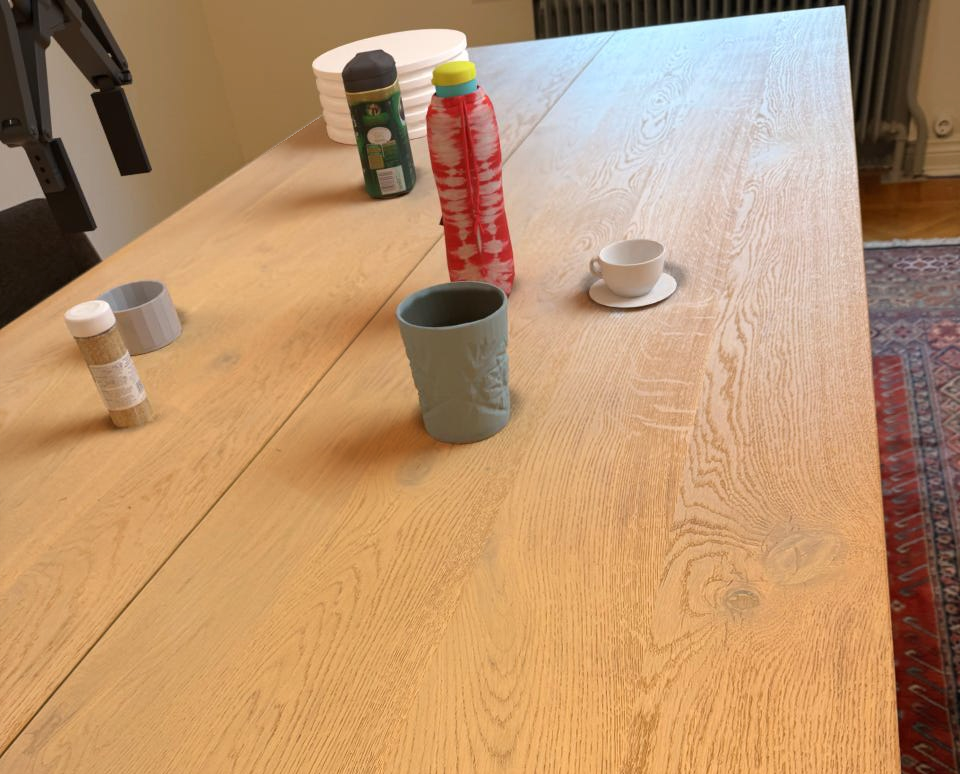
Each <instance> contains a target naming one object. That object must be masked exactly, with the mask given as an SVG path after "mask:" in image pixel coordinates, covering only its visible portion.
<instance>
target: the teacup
mask: <svg viewBox="0 0 960 774" xmlns="http://www.w3.org/2000/svg"><path fill="white" fill-rule="evenodd" d="M665 256H666V247H665V245H664V244H663V243H661V242H660V241H658V240H655V239H650V238H629V239H628V238H627V239H622V240H618V241H614V242H613V243H610V244H608V245H606V246H604V247H603V248H602V249H601V250H600V251H599V252H598V255H595V256H593V257H592V258H591V259H590V261H589V264H588V265H589V271H590V274H592V275H593V276H594V277H595V278H597V279H598V280H596V281H594V283H593V284H592V285H591V286H590V288H589V291H588V294H589V297H590V298H591V300H593V301H594V302H596V303H597V304H600V305H603V306H607V307H613V308H636V307H643V306H648V305H652V304H654V303H658V302H660V301H663V300H665V299H667V298H668V297H670V296H671V295H672V294H673V293H674V292H675V291H676V289H677V284H678V283H677V281H676V279H675V278H674V277H673V276H672V275H670V274H668V273H665V272H663V270H664V265H665ZM595 263H597V264H598V265H599V267H600V271H599V270H598V269H597V268H596V266H595Z"/></svg>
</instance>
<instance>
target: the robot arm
mask: <svg viewBox="0 0 960 774" xmlns="http://www.w3.org/2000/svg"><path fill="white" fill-rule="evenodd" d="M51 38H53V39H54V41H55V42H56V43H57V45H59V47H60V48H61V49H62V51H64V53H65V54H66V56H68V58H69V59H70V60H71V62H72V63H73V64H74V66H76V68H77V69H78V70H79V72H80V73H81V74H82V75H83V77H84V78H85V79H86V80H87V81H88V82H89V84H90V85H91V87H92V88H93V89H95V90H98V91H93V92H92V93H90V99H91V101H92V103H93V107H94V109H95V111H96V114H97V116H98V120H99V122H100V125H101V127H102V130H103V133H104V136H105V138H106V140H107V143H108V146H109V148H110V151H111V154H112V156H113V159H114V161H115V162H114V163H115V165H116V167H117V169H118V173H119V175H120V177H127V176H136V175H142V174H149V173H151V172H152V171H153V169H152V165H151V161H150V159H149V157H148V154H147V151H146V148H145V145H144V143H143V139H142V137H141V134H140V130H139V128H138V125H137V122H136V120H135V117H134V115H133V111H132V109H131V105H130V103H129V100H128V98H127V93H126V92H125V88H124V87H123V86H129V85H132V84H133V76H132V72H131V70H130V69H129V63H128V61H127V58H126V56H125V55H124V53H123V51H122V49H121V47H120V45H119V44H118V42H117V39H115V37H114V35H113V33H112V31H111V30H110V28H109V26H108V23H107V22H106V20H105V19H104V17H103V15H102V13H101V11H100V10H99V8H98V6H97V4H96V2H95V0H0V142H1V144H3V145H4V146H7V148H9V149H14V148H15V149H16V148H21V147H22V149H23V150H24V151H25V154H26V156H27V159H28V161H29V163H30V165H31V168H32V170H33V172H34V174H35V176H36V179H37V181H38V183H39V186H40V188H41V190H42V192H43V195H44V197H45V200H46V201H47V204H48V206H49V209H50V211H51V213H52V215H53V218H54V221H55V222H56V225H57V228H58V229H59V232H60V234H61V236H64V235H71V234H81V233H86V232H87V233H89V232H94V231H96V230H97V228H98V225H97V223H96V221H95V218H94V216H93V213H92V211H91V208H90V206H89V204H88V201H87V199H86V196H85V194H84V191H83V189H82V187H81V184H80V182H79V179H78V177H77V173H76V172H75V169H74V166H73V164H72V162H71V160H70V157H69V155H68V152H67V150H66V147H65V144H64V141H63V140H62V138H61V137H53V126H52V116H51V114H52V113H51V102H50V101H51V100H50V91H49V80H48V68H47V58H46V57H47V56H46V55H47V54H46V52H47V49H48V48H49V47H50V46H51V43H52V39H51Z"/></svg>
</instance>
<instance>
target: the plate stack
mask: <svg viewBox="0 0 960 774" xmlns="http://www.w3.org/2000/svg"><path fill="white" fill-rule="evenodd" d="M467 42H468V41H467V36H466V34H465V33H464V32H462V31H459V30H456V29H450V28H449V29H448V28H425V29H412V30H403V31H398V32H391V33H385V34H381V35H376V36H372V37H366V38H364V39H359V40H356V41H353V42H348V43H347V44H343V45H340V46H338V47H335V48H332V49H330V50H328V51H326V52H324V53H322V54H321V55H319V56H317V57H316V58H315V59H314V60H313V62H311V66H312V71H313V75H314V76H315V77H316V78H315V84H316V89H317V91H318V92H319V96H318V97H319V102H320V105H321V107H322V108H323V110H322V115H323V119H324V122H325V123H326V133H327V136H328V138H329V139H330V140H332V141H333V142H336V143H340V144H344V145H351V146H357V142H356V138H355V133H354V128H353V124H352V119H351V115H350V111H349V106H348V102H347V98H346V94H345V89H344V84H343V78H342V71H343V69H344V67H345V66H346V64H347V63H348V62H349V61H350V60H351V59H353V58H354V57H355V56H356V54H357V53H360V52H366V51H373V50H379V49H382V50H383V51H384V52H386V53H388V54H390V55H391V56H392V57H393V58H394V61H395V62H396V64H395V65H396V70H397V75H398V80H399V86H400V91H401V97H402V103H403V108H404V113H405V119H406V124H407V130H408V136H409V141H411V140H414V139H415V140H416V139H419V138H424V137H427V125H426V114H427V110H428V107H429V105H430V104H431V98H432V95H433V94H434V93H435V92H436V90H435V85H433V84H432V83H431V79H432V78H433V74H432V72H433V70H434V69H435V68H436V67H438V66H440V65H442V64H444V63H448V62H452V61H470V59H469V52H468V51H467V49H466V48H467V46H468V43H467Z"/></svg>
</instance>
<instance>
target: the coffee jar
mask: <svg viewBox="0 0 960 774" xmlns="http://www.w3.org/2000/svg"><path fill="white" fill-rule="evenodd" d="M395 64H396V62H395V61H394V58H393V57H392V56H391V55H390V54H388V53H386V52H384V51H383V50H382V49H379V50H373V51H366V52H360V53H357V54H356V56H355V57H354V58H353V59H351V60H350V61H349V62H348V63H347V64H346V66H345V67H344V69H343V71H342V78H343V84H344V89H345V94H346V98H347V102H348V106H349V111H350V115H351V119H352V124H353V128H354V133H355V138H356V142H357V145H356V146H357V151H358V155H359V160H360V164H361V170H362V175H363V179H364V184H365V190H366V193H367V195H368V196H369V197H370V198H378V199H379V198H380V199H393V198H397V197H398V196H400V195H403V194H406V193H409V192H411V191H412V190H413V189H414V187H415V186H416V185H415V184H416V181H417V175H416V174H417V173H416V167H415V162H414V156H413V152H412V147H411V142H410V141H411V140H409V136H408V130H407V124H406V119H405V113H404V108H403V103H402V97H401V91H400V86H399V80H398V75H397V70H396V65H395Z"/></svg>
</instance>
